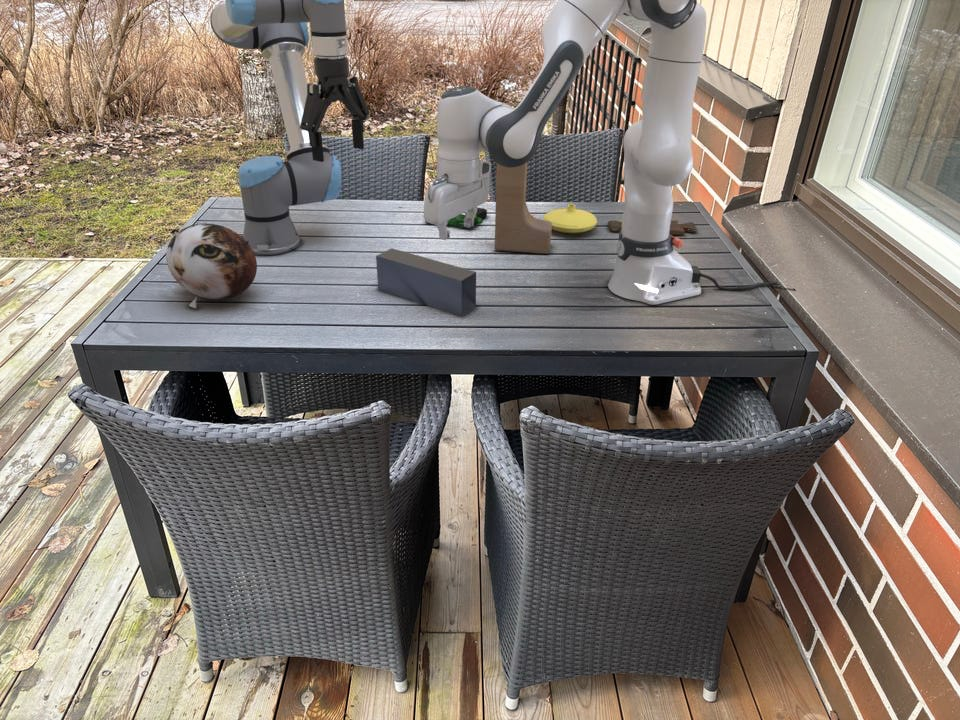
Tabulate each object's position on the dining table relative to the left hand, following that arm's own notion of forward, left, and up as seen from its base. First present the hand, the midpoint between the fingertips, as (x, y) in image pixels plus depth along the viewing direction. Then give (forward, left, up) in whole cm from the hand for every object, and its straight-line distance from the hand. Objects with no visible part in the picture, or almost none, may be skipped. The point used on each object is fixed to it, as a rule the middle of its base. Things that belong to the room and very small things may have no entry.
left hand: (339, 154), depth 167 cm
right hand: (+34, -1, -12) cm, 36 cm away
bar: (+25, -1, -30) cm, 39 cm away
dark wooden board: (+52, +74, -30) cm, 96 cm away
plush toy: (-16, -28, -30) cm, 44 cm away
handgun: (+1, +47, -30) cm, 56 cm away
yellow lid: (+32, +60, -30) cm, 75 cm away
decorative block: (+28, +39, -30) cm, 57 cm away
